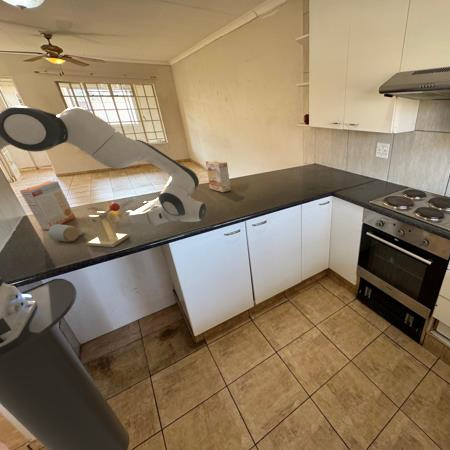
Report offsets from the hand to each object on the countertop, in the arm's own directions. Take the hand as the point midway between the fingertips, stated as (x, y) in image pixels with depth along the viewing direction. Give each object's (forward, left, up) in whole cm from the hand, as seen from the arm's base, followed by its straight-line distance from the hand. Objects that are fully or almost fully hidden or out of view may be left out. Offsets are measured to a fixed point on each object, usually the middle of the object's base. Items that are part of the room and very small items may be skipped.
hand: (136, 208), depth 102 cm
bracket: (+14, +13, -18) cm, 26 cm away
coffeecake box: (+49, -54, -18) cm, 75 cm away
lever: (+10, +9, -4) cm, 14 cm away
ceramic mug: (+28, +27, -18) cm, 43 cm away
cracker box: (+52, +32, -18) cm, 64 cm away
